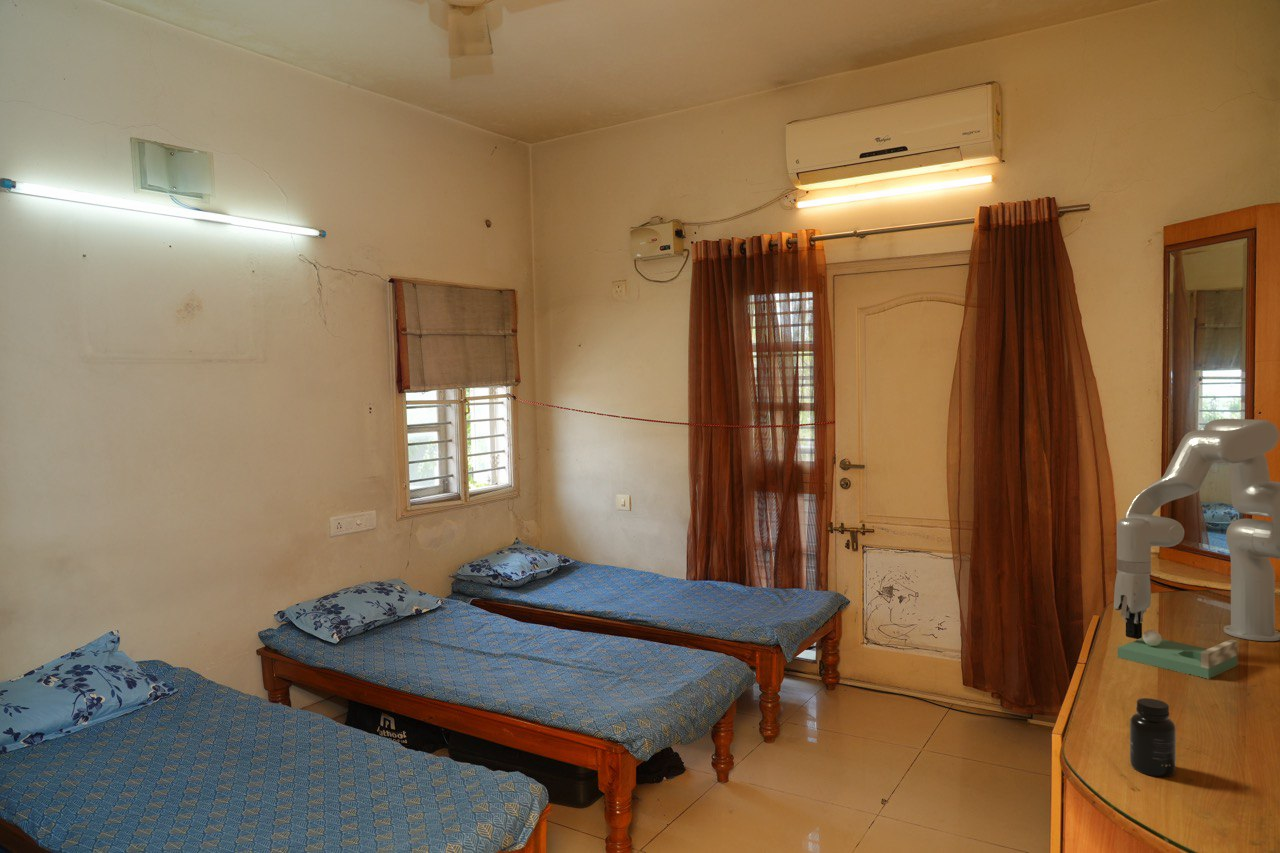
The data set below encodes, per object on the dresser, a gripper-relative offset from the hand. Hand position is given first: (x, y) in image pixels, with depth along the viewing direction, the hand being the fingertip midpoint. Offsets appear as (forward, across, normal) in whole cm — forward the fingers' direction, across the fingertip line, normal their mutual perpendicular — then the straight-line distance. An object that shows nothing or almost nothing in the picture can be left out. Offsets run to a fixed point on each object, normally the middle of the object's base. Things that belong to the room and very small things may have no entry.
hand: (1133, 637), depth 207 cm
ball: (-1, 0, +4) cm, 4 cm away
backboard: (+1, 0, +19) cm, 19 cm away
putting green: (+4, 0, +10) cm, 11 cm away
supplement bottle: (+4, +66, +34) cm, 74 cm away
